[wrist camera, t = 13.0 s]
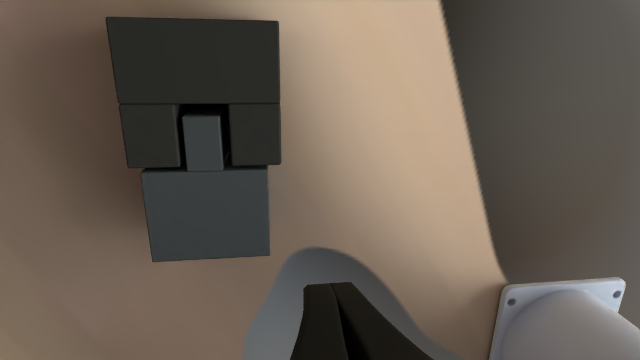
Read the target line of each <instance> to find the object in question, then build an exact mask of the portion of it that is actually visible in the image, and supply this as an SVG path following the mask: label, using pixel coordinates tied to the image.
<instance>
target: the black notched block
mask: <svg viewBox="0 0 640 360" xmlns="http://www.w3.org/2000/svg"><path fill="white" fill-rule="evenodd" d="M106 25H107V32H108V39H109V45H110V52H111V59H112V66H113V72H114V79H115V86H116V93H117V99H118V103H119V104H120V105H119V112H120V118H121V125H122V132H123V139H124V145H125V152H126V159H127V166H128V168H159V167H180V166H181V164H182V163H183V161H184V160H185V159H186V153H185V143H184V133H183V122H182V117H183V116H184V115H185V114H186V113H188V112H189V104H229V106H228V108H229V125H230V142H231V159H232V165H234V166H243V165H279V164H281V115H280V59H279V22H278V21H261V20H220V19H180V18H139V17H106Z"/></svg>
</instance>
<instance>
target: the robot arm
mask: <svg viewBox="0 0 640 360" xmlns="http://www.w3.org/2000/svg"><path fill="white" fill-rule="evenodd" d="M624 289H625V282H624V281H623V280H622V279H620V278H618V277H611V278H597V279H583V280H568V281H554V282H540V283H526V284H512V285H507V286H506V287H504V289H503V290H502V293H501V298H500V304H499V309H498V314H497V319H496V325H495V330H494V335H493V341H492V346H491V351H490V357H489V360H640V330H639V329H638V328H637V327H635V326H634V325H633V324H631V323H630V322H629V321H627V320H626V319H624V318H623V317H622V316H621V315H619V314H618V309H619V305H620V303H621V299H622V296H623V293H624ZM510 299H511V300H510ZM509 300H510V301H509ZM508 301H509V302H508ZM290 360H433V359H432V358H431V357H429V356H428V355H427V354H425V353H424V352H423V351H422V350H420V349H419V348H418V347H417V346H416V345H414V344H413V343H412V342H411V341H410V340H409V339H407V338H406V337H405V336H404V335H403V334H402V333H401V332H399V331H398V330H397V329H396V328H395V327H394V326H393V325H392V324H391V323H390V322H389V321H388V320H387V319H386V318H385V317H384V316H383V315H382V314H381V313H380V312H379V311H378V310H377V309H376V308H375V307H374V306H373V305H372V304H371V303H370V302H369V301H368V300H367V299H366V298H365V296H364V295H363V294H362V293H361V292H360V291H359V290H358V289H357V288H356V287H355V286H354V285H353V284H352V283H351V282H344V283H330V284H313V285H307V286H306V287H305V288H304V311H303V317H302V321H301V325H300V329H299V333H298V337H297V340H296V343H295V346H294V349H293V352H292V355H291V358H290Z"/></svg>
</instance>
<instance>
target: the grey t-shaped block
mask: <svg viewBox="0 0 640 360" xmlns="http://www.w3.org/2000/svg"><path fill="white" fill-rule="evenodd" d="M182 122H183V133H184V143H185V153H186V159H185V160H184V161H183V163H182V164H181V166H180V167H159V168H145V169H144V170H143V171H142V172H141V173H140V176H141V183H142V190H143V198H144V205H145V212H146V219H147V226H148V234H149V241H150V248H151V255H152V261H153V262H164V261H182V260H201V259H219V258H237V257H255V256H270V224H269V191H268V165H243V166H234V165H232V159H231V153H229V143H228V127H227V111H226V106H195V107H194V108H193V109H191V110H190V111H189V112H188V113H186V114H185V115H184V116H183V117H182Z"/></svg>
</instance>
